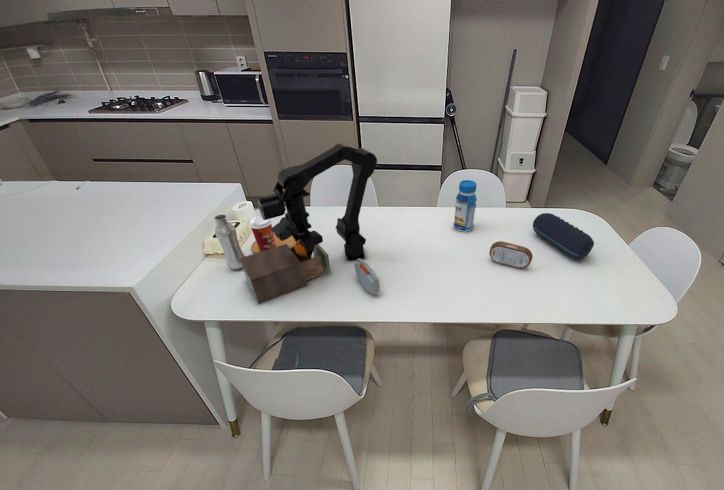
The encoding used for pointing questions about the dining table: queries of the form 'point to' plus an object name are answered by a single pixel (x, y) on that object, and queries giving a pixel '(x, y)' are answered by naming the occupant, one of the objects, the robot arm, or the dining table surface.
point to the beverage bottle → (465, 206)
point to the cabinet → (273, 272)
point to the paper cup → (262, 233)
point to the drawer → (314, 262)
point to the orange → (300, 249)
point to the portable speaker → (563, 235)
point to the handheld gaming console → (367, 276)
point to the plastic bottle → (228, 241)
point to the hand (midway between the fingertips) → (305, 251)
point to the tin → (510, 254)
